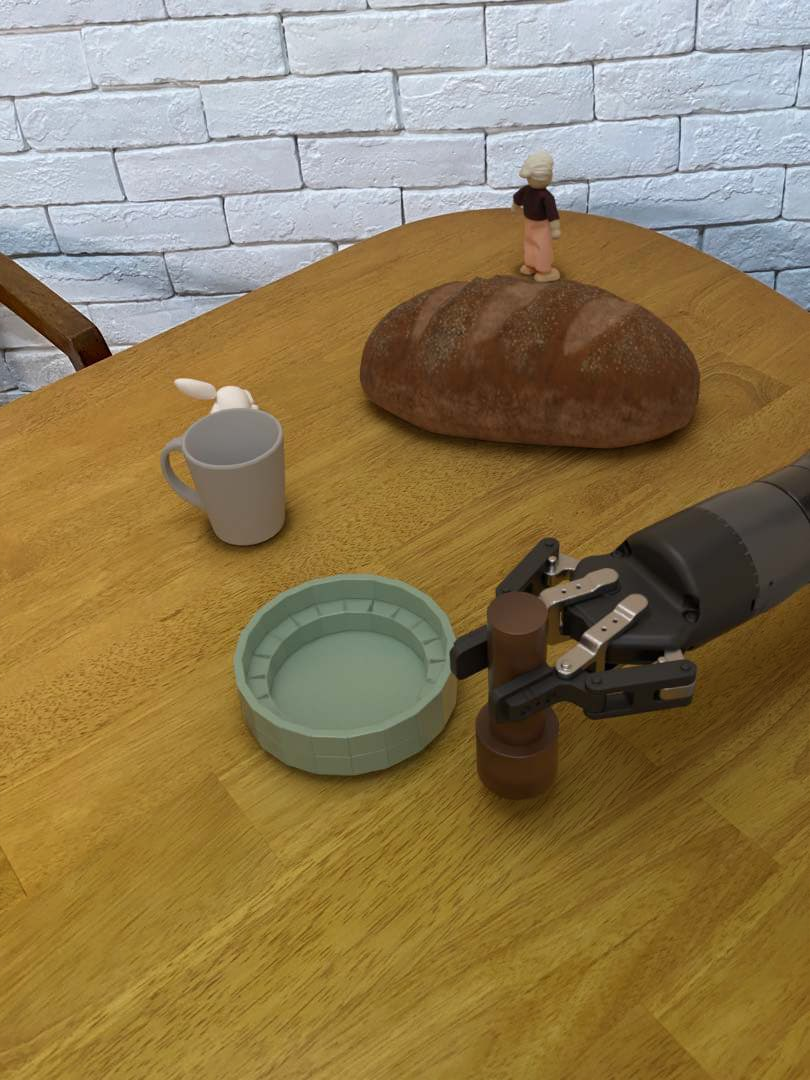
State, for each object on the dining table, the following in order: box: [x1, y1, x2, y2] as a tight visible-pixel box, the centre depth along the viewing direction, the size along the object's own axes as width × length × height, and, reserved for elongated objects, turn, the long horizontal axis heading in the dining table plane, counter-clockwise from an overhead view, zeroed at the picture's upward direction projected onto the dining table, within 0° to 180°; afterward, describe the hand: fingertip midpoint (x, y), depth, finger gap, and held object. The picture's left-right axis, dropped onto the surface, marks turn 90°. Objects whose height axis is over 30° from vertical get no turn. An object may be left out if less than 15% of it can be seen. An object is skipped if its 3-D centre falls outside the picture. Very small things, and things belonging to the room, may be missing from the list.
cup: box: [159, 408, 286, 546], centre depth 87 cm, size 8×10×8 cm
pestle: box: [474, 592, 560, 801], centre depth 63 cm, size 5×5×13 cm
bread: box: [359, 274, 701, 449], centre depth 96 cm, size 16×29×11 cm, turn 75°
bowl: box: [232, 573, 459, 777], centre depth 74 cm, size 14×14×4 cm
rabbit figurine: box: [173, 377, 260, 414], centre depth 98 cm, size 6×4×8 cm
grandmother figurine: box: [510, 150, 562, 283], centre depth 113 cm, size 8×4×13 cm, turn 43°
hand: (473, 686), depth 61 cm, fingers closed on pestle, 3 cm apart
